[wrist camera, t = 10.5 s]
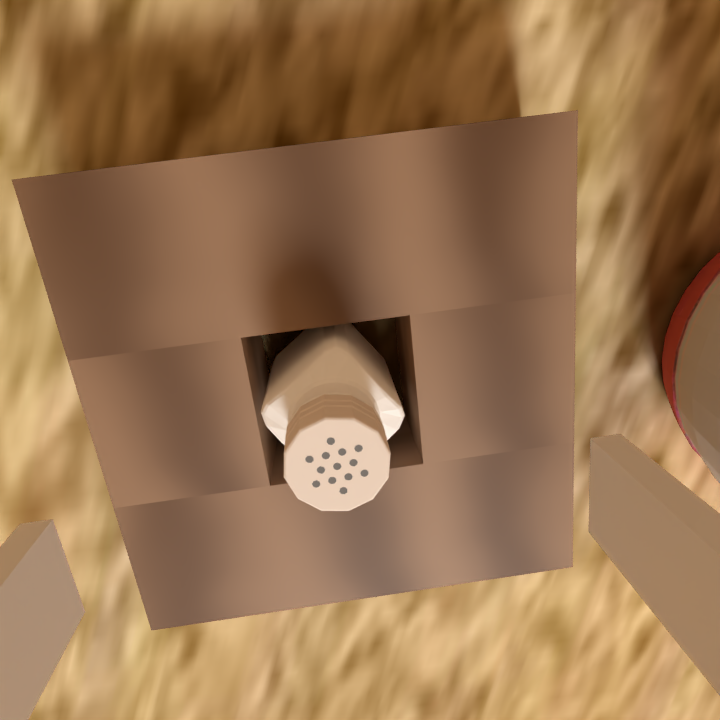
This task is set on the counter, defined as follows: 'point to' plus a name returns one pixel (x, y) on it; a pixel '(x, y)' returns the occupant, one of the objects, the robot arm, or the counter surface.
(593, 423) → the counter surface
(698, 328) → the citrus juicer
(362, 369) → the pepper shaker
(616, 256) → the counter surface
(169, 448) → the socket block
